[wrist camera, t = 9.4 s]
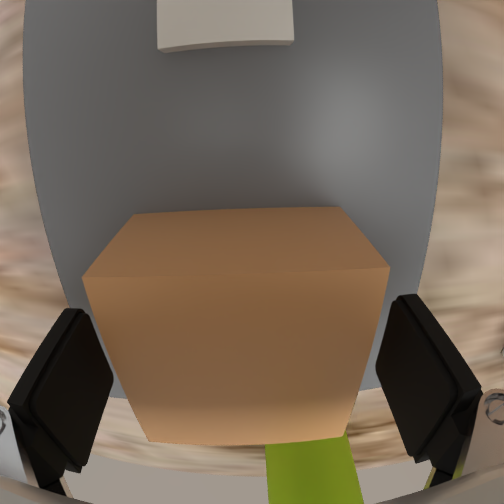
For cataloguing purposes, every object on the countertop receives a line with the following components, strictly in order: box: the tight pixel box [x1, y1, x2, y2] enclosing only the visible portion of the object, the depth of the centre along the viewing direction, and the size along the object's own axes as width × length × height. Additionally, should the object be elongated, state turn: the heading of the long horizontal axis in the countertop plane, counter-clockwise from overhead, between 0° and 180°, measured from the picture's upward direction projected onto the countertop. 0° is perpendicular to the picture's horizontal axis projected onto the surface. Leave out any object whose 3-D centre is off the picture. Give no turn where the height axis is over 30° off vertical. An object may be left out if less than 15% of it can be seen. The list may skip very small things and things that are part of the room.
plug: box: [82, 207, 390, 445], centre depth 11 cm, size 7×7×7 cm
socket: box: [23, 0, 443, 399], centre depth 11 cm, size 20×14×4 cm
